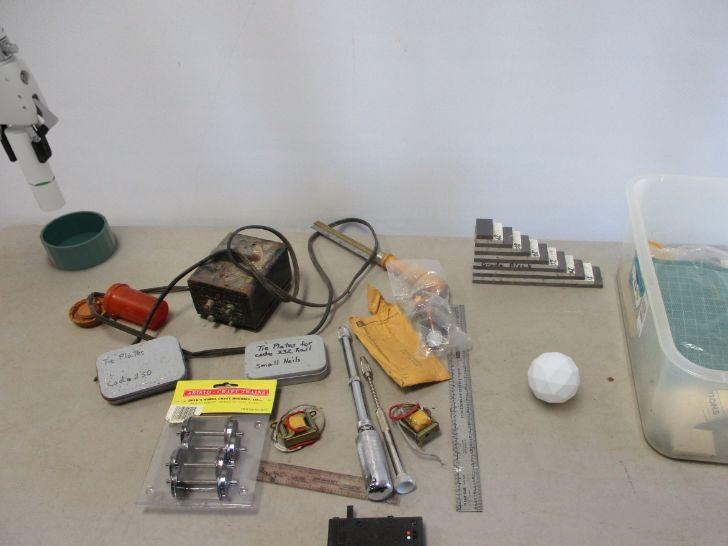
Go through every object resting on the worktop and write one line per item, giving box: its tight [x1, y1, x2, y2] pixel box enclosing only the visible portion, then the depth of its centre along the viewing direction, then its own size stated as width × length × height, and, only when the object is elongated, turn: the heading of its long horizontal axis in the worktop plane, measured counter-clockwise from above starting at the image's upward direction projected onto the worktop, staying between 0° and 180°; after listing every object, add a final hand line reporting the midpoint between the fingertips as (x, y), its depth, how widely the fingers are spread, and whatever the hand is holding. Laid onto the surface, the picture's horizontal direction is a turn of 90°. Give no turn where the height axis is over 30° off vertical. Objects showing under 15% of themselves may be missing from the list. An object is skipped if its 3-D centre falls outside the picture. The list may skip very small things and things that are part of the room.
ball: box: [526, 351, 581, 404], centre depth 90 cm, size 8×8×8 cm
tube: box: [4, 125, 67, 213], centre depth 103 cm, size 4×4×15 cm
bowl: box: [39, 210, 117, 271], centre depth 116 cm, size 12×12×6 cm
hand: (31, 157), depth 101 cm, fingers closed on tube, 4 cm apart
